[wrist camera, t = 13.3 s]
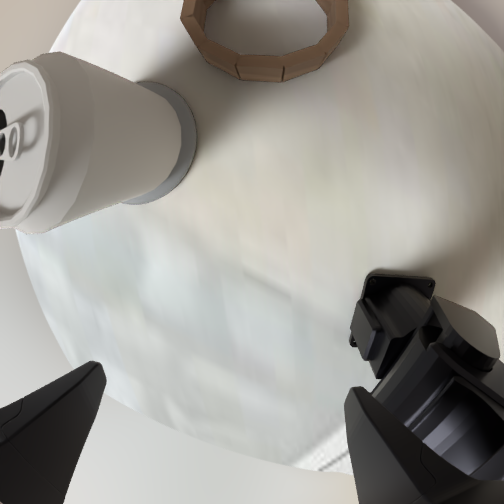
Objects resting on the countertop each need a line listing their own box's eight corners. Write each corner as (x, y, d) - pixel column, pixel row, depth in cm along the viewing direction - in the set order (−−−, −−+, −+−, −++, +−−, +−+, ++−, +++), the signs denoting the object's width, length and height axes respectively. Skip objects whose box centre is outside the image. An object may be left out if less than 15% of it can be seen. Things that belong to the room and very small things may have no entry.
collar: (336, -17, 12) (344, -37, 10) (337, 90, 16) (349, 78, 13) (203, -24, 13) (194, -44, 10) (186, 80, 16) (172, 68, 13)
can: (100, 95, 16) (-28, 71, 5) (193, 91, 16) (87, 16, 4) (91, 191, 18) (-38, 235, 7) (179, 200, 18) (61, 265, 7)
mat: (202, 78, 16) (200, 76, 15) (193, 206, 19) (191, 207, 18) (93, 92, 16) (89, 91, 16) (88, 202, 19) (85, 203, 19)
